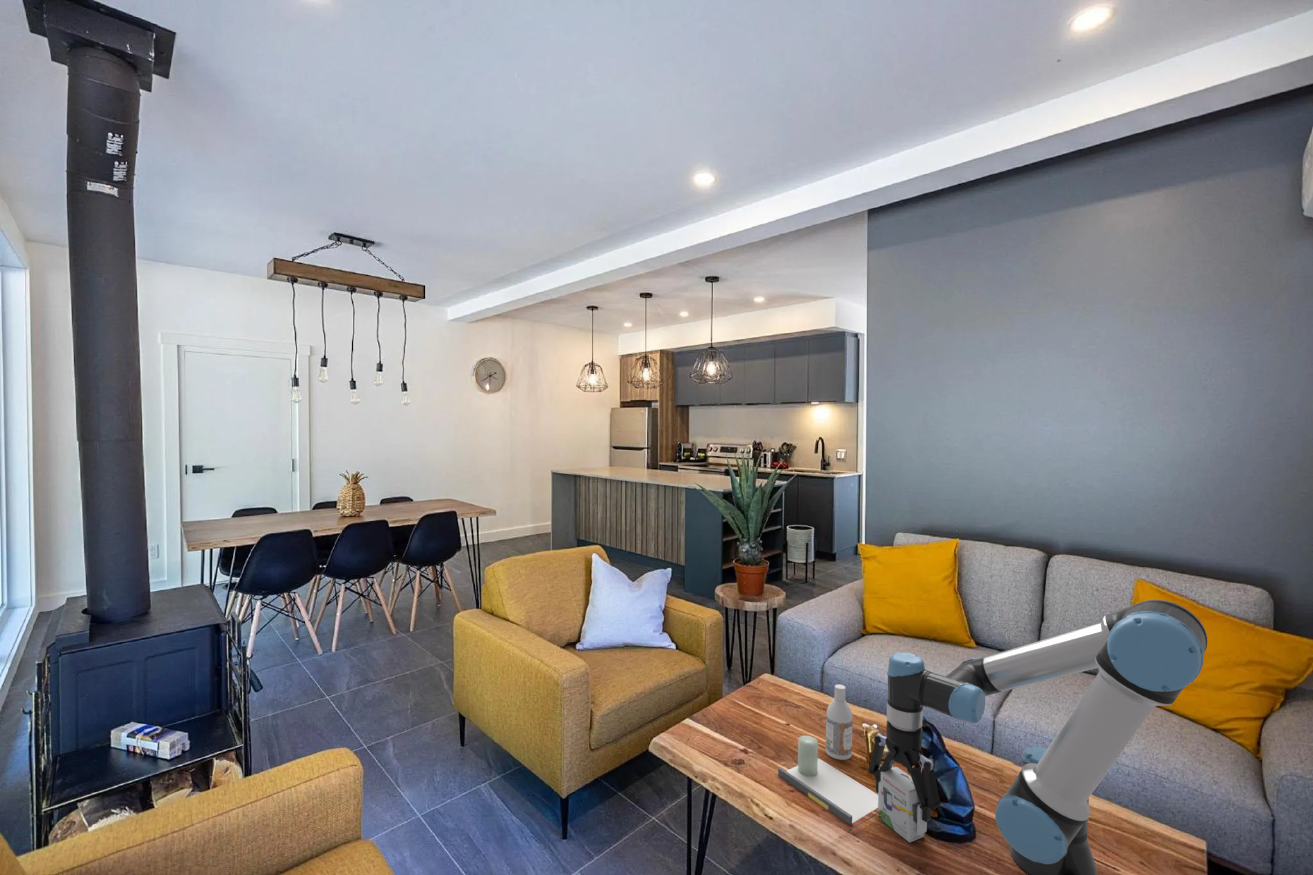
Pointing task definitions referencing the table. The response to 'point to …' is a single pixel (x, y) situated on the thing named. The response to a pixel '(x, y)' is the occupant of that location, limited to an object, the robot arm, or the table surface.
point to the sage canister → (807, 756)
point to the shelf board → (834, 792)
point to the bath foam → (839, 726)
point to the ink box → (899, 803)
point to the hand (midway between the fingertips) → (901, 819)
